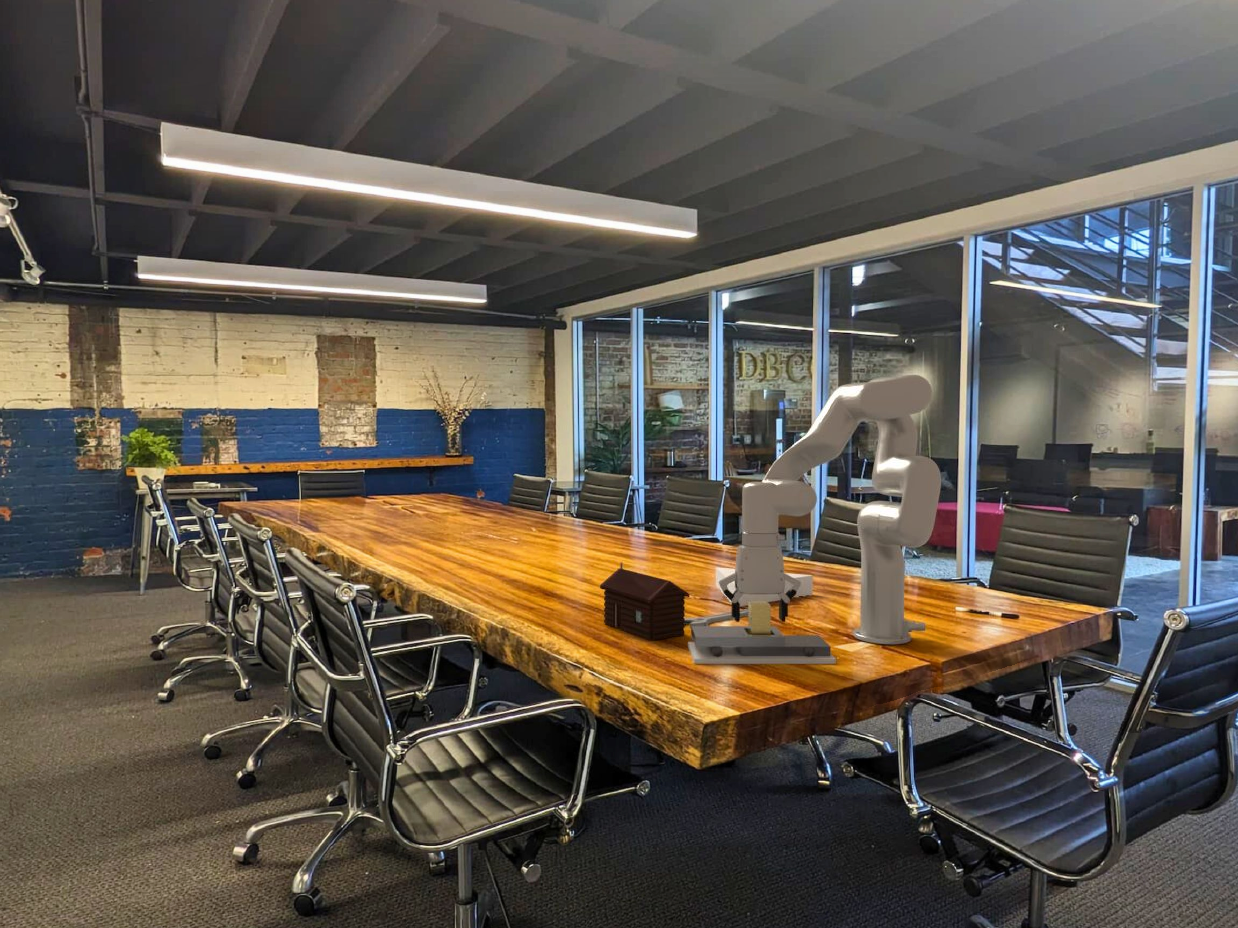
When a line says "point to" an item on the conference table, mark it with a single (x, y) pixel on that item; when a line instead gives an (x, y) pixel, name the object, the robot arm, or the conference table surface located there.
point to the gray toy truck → (758, 642)
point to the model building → (644, 605)
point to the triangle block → (803, 590)
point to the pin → (759, 618)
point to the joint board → (750, 657)
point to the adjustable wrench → (712, 618)
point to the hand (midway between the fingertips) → (759, 620)
